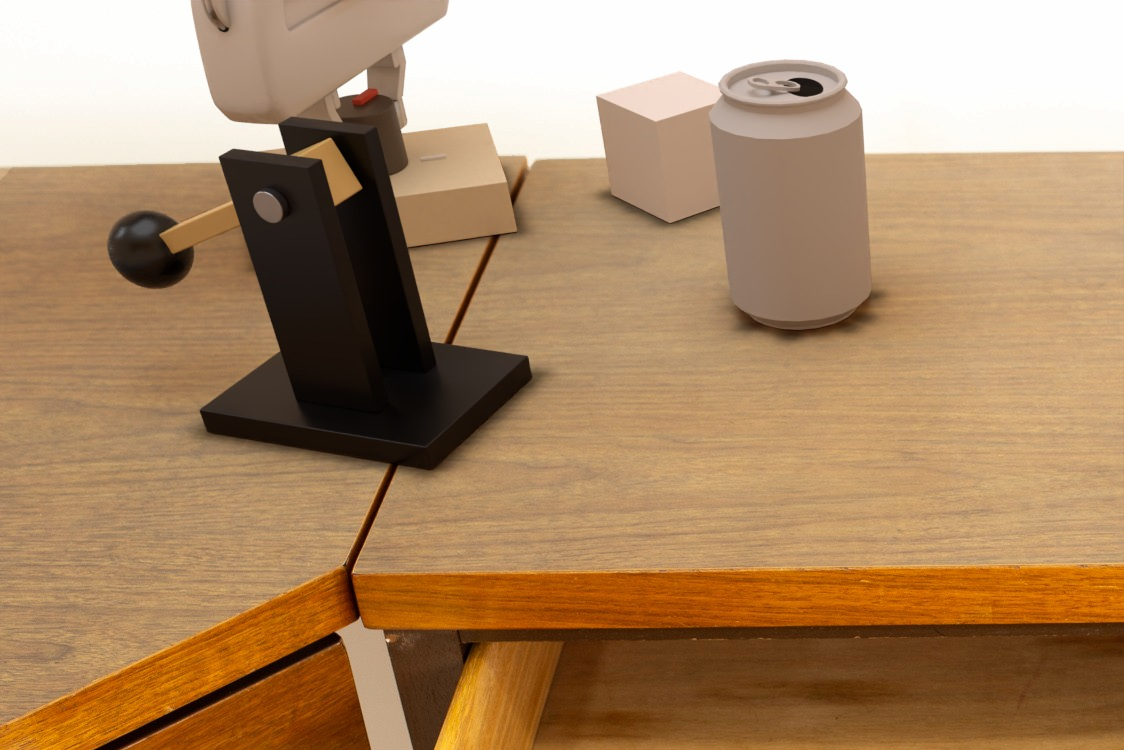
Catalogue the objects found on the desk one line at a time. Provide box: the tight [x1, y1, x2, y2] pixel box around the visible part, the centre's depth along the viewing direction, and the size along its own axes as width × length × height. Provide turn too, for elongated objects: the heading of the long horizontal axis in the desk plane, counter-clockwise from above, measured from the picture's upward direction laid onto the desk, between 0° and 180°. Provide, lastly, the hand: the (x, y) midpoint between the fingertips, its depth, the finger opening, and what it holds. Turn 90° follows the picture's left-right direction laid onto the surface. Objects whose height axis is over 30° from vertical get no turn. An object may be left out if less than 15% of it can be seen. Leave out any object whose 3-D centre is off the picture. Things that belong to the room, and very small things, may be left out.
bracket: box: [198, 116, 533, 470], centre depth 72 cm, size 12×9×13 cm
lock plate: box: [257, 122, 518, 248], centre depth 92 cm, size 14×10×3 cm
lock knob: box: [336, 87, 408, 175], centre depth 90 cm, size 4×4×4 cm
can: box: [709, 58, 873, 331], centre depth 80 cm, size 8×8×12 cm
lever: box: [106, 138, 362, 290], centre depth 71 cm, size 14×4×4 cm, turn 74°
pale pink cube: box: [595, 70, 722, 224], centre depth 94 cm, size 6×6×6 cm
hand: (367, 147), depth 90 cm, fingers closed on lock knob, 4 cm apart
